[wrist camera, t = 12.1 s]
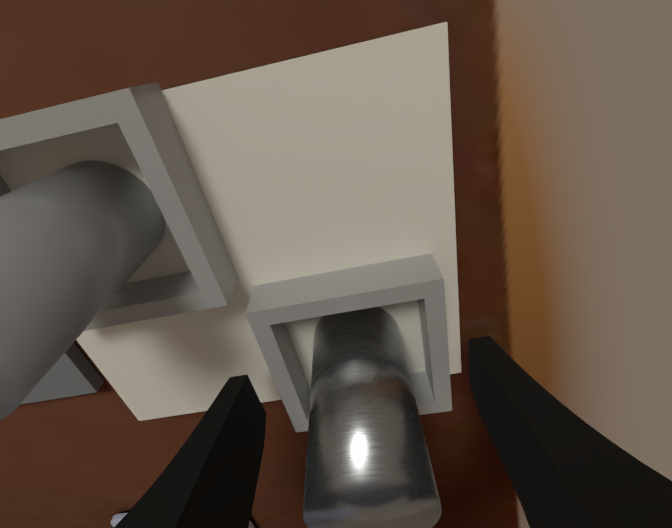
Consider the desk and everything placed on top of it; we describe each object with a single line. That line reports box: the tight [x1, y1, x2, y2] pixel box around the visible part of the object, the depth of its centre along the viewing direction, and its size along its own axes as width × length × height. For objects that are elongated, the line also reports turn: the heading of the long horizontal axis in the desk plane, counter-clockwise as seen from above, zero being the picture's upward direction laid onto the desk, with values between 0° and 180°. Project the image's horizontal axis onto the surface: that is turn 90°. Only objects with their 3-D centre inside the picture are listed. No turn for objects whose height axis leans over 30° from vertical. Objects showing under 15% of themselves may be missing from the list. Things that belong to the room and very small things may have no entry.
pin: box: [303, 307, 442, 528], centre depth 11 cm, size 3×3×6 cm
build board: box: [0, 22, 461, 432], centre depth 10 cm, size 12×14×7 cm
